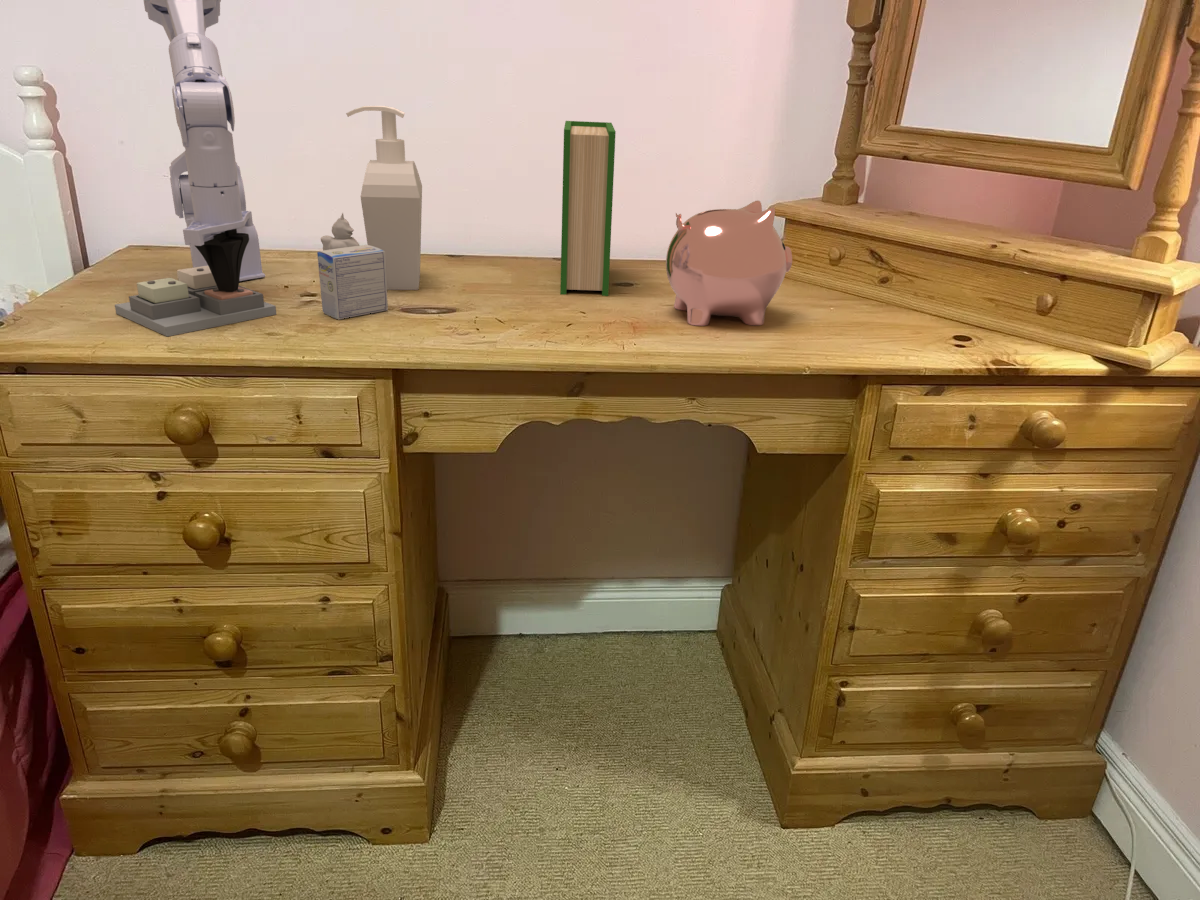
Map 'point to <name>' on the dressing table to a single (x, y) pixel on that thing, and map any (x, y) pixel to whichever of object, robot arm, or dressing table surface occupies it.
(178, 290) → the tile sage
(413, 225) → the soap bottle
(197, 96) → the robot arm
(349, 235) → the rubber duck
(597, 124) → the hardback book
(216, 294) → the tile coral
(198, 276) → the tile ivory
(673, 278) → the piggy bank
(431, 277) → the dressing table surface
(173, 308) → the stacking puzzle board
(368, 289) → the medicine box
